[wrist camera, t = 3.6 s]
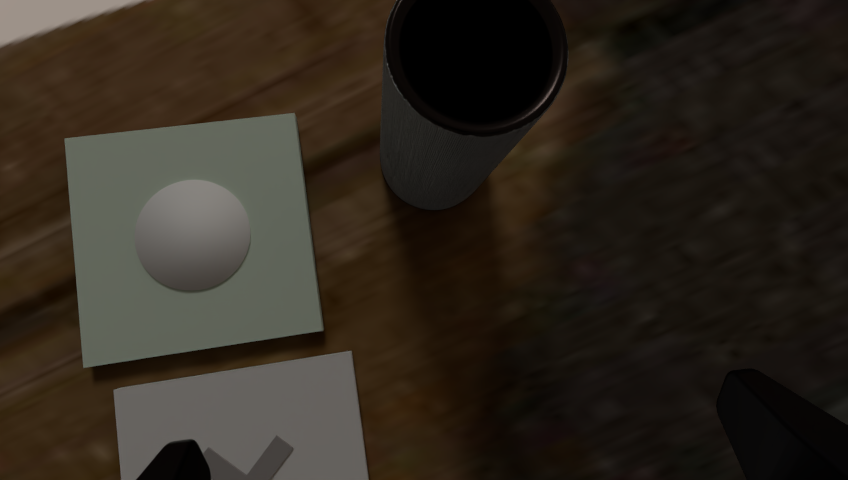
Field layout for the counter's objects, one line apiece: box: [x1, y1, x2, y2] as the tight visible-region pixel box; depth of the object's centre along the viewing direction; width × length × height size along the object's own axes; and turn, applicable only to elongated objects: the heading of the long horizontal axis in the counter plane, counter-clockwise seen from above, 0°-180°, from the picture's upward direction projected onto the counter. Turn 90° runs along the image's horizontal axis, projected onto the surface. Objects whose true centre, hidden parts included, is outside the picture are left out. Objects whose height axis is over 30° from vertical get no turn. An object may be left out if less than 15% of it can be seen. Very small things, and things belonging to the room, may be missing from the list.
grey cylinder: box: [380, 0, 568, 210], centre depth 18 cm, size 4×4×10 cm
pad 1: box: [65, 113, 324, 368], centre depth 21 cm, size 9×9×1 cm
